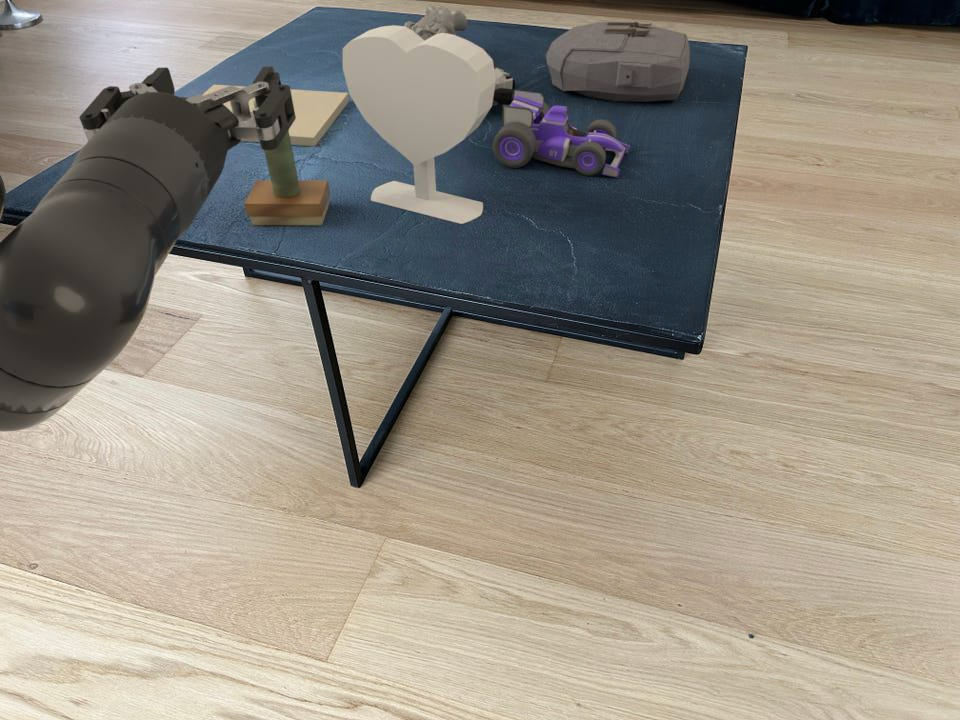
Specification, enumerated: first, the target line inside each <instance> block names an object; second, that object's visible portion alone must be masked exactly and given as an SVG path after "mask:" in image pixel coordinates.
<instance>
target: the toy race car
mask: <svg viewBox="0 0 960 720" xmlns="http://www.w3.org/2000/svg"><path fill="white" fill-rule="evenodd" d="M513 94H514V99H513V100H512V103H511V104H510V105H508V104H502V127H500V130H499V131H498V132H497V133H496V135H495V136H494V138H493V141H492V152H493V156H494V157H495V158H496V159H497V161H498V162H499V163H501V165H503V166H505V167H507V168H511V169H518V168H522V167H524V166H525V165H527V164H528V162H529V161H530V160H531V158H532V157H533V158H532V159H535V160H537V161H540V162H544V163H547V164H551V165H554V166H557V167H562V168H570V169H575V170H576V171H577V172H578V173H579V174H580V175H583V176H589V177H591V176H595V175H597V174H599V173H600V171H601V170H602V171H601V175H602V176H608V177H613V178H619V176H620V172H621V171H620V170H621V169H620V168H619V166H620V164H621V163H622V160H623V158H624V156H625V154H629V153H630V151H631V150H630V149H631V144H630V145H629V144H627V143H624V142H623V141H619V140H618V139H617V135H618V133H617V132H618V131H617V129H616V127H615V125H614V124H613V123H612V122H610V121H609V120H607V119H596V120H593V121H592V122H591V123H590V124H589V125H588V127H587V129H586V131H584V130H579V129H578V128H577V127H574V126H572V125H570V123H569V115H568V106H565V105H558V104H557V105H553V106H551V107H550V106H549V105H548V104H547V103H546V102H545V97H544V95H543V94H542V93H541V92H536V91H535V92H534V91H526V90H518V89H514V90H513ZM609 151H610V152H613V153H614V154H615V156H614V158H613V160H612V162H611V163H610V164H608V163H605V162H606V159H607V152H609Z"/></svg>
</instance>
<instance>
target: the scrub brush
mask: <svg viewBox="0 0 960 720" xmlns="http://www.w3.org/2000/svg"><path fill="white" fill-rule="evenodd" d="M254 107H257V105H256V100H255V101H254ZM263 152H264V156H265V160H266V164H267V168H268V169H267V170H268V175H269V178H270V179H269V180H267V179H266V180H255V181H254V183H253V185H252V187H251V189H250V192H249V194H248V196H247V197H246V199H245V201H244V209H245V212H246V216H247V217H248V218H249V217H250V221H251V225H252V226H323V224H324V220H325V218H326V215H327V212H328V209H329V207H330V194H331V190H330V184H329V180H328V179H327V180H324V179H323V180H321V179H320V180H319V179H318V180H315V179H314V180H303V179H302V180H301V179H300V180H299V176H298V171H297V166H296V162H295V156H294V151H293V145H291V140H290V135H289V130H288V132H287V133H286V135H285V136H284V138H283V140H282V141H281V143H280V144H279V146H278V147H277V148H276V149H274V150H263Z"/></svg>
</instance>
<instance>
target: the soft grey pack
mask: <svg viewBox="0 0 960 720" xmlns="http://www.w3.org/2000/svg"><path fill="white" fill-rule="evenodd" d="M652 25H653V23H652V22H650V23H640V22H637V21H634V22H632V21H599V22H598V21H597V22H593V23H586V24H582V25H577V26H573V27H571V29H568V30H567V31H565V32H564V33H562V34H561V35H559V36H558V37H556V39H554V40H553V41H551V44H550V46H549V48H548V50H547V52H546V54H545V58H546V65H547V67H548V71H549V74H550V77H551V84H552V85H553V86H555V87H556V88H558V89H560V90H561V91H562V92H572V93H576V94H578V95H582V96H585V97H587V98H594V99H600V100H601V99H602V100H605V101H611V102H612V101H613V102H634V103H635V102H640V103H641V102H643V103H646V102H647V103H649V102H660V101H661V102H662V101H663V102H664V101H675V100H677V99H678V98H679V96H680V94H681V92H682V90H683V89H684V86H685V83H686V79H687V76H688V72H689V68H690V58H691V51H690V50H691V49H690V42H689V38H688V35H687V34H686V33H684V32H679V31H676V30H671V29H667V28H663V27H660V26H654V25H653V26H652Z"/></svg>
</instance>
